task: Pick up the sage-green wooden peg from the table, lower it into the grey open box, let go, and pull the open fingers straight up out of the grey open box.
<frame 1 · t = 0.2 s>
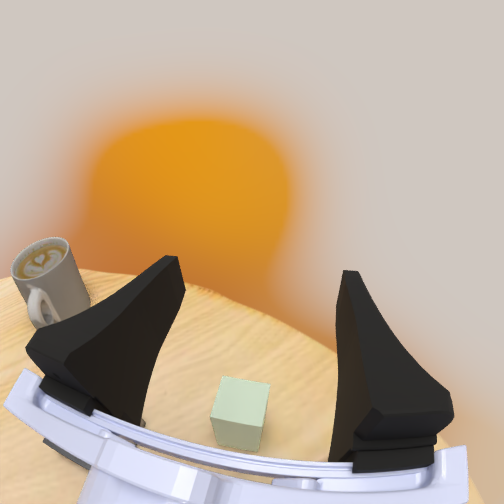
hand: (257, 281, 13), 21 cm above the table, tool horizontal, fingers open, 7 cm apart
grey open box: (100, 439, 23), on the table
green peg: (241, 431, 26), on the table
coffee mug: (60, 318, 36), on the table
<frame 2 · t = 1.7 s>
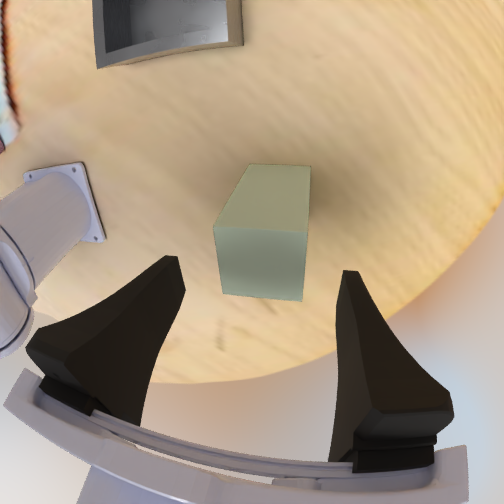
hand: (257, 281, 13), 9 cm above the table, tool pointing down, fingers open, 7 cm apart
green peg: (280, 192, 20), on the table
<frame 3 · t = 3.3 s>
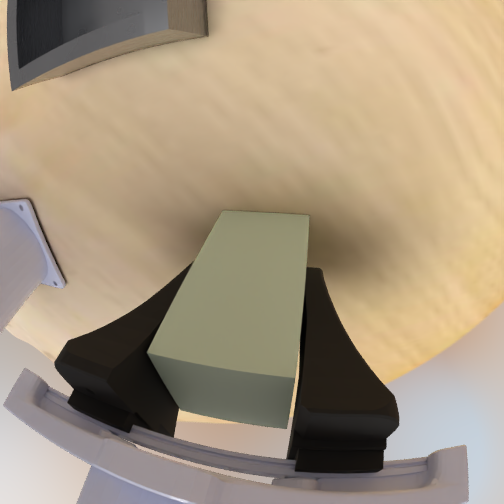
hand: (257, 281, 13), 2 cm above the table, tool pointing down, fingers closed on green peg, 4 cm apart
green peg: (266, 248, 14), on the table, touching gripper
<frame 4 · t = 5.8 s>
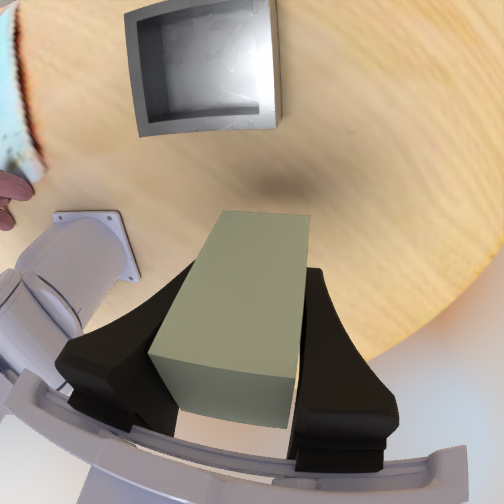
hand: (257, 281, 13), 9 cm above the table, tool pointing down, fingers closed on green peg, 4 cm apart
grey open box: (214, 60, 15), on the table
green peg: (266, 248, 14), point 7 cm above the table, touching gripper
video game controller: (14, 191, 25), on the table
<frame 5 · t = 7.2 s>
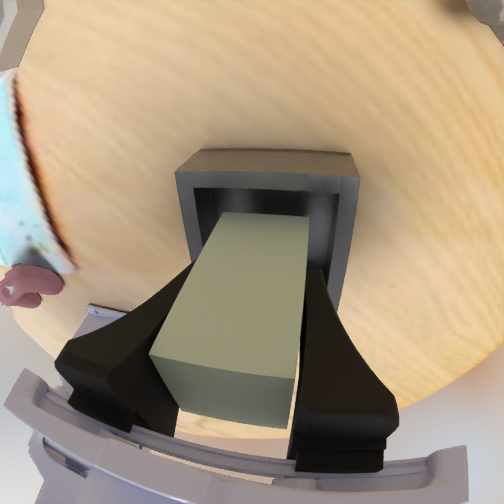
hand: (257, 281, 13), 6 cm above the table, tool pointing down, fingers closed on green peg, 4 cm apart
grey open box: (274, 215, 17), on the table
decorative lighthouse: (10, 20, 10), on the table
green peg: (266, 249, 15), point 3 cm above the table, touching gripper
video game controller: (38, 273, 27), on the table
when the fingers open (5 cm above the table, at t = 8.2 s): green peg drops 2 cm, resting on grey open box.
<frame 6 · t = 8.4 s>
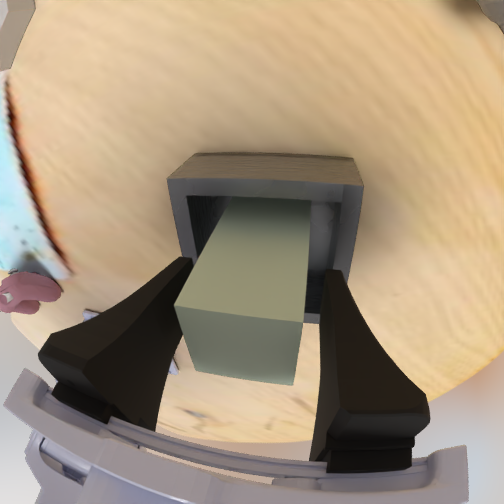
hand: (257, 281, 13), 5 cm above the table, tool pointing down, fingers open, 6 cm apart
grey open box: (272, 222, 16), on the table
decorative lighthouse: (2, 21, 10), on the table
green peg: (272, 229, 16), resting on grey open box
video game controller: (36, 279, 27), on the table
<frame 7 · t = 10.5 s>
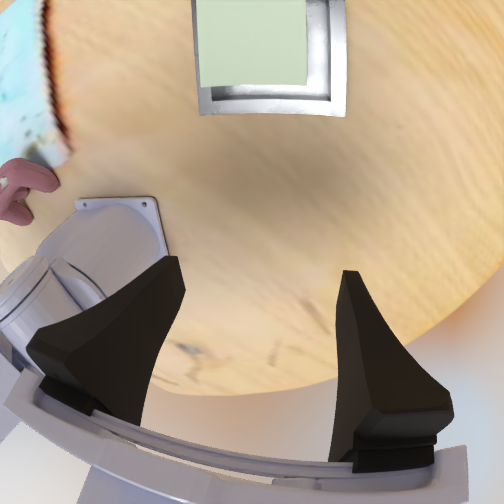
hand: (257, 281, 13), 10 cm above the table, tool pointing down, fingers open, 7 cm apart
grey open box: (275, 47, 15), on the table
green peg: (274, 48, 15), resting on grey open box
video game controller: (34, 183, 25), on the table
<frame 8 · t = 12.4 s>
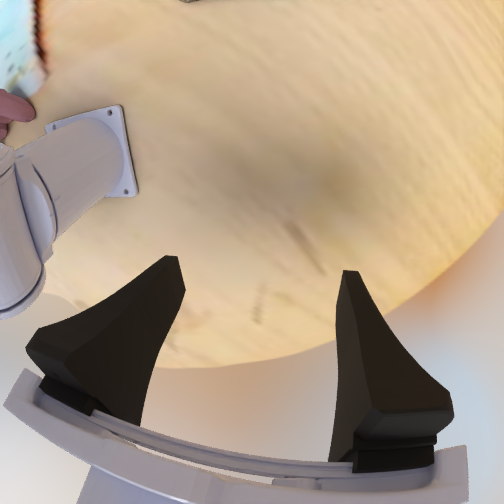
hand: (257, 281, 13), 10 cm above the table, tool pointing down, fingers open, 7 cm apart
video game controller: (13, 122, 21), on the table
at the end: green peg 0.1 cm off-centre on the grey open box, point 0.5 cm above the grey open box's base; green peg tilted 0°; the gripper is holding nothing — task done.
